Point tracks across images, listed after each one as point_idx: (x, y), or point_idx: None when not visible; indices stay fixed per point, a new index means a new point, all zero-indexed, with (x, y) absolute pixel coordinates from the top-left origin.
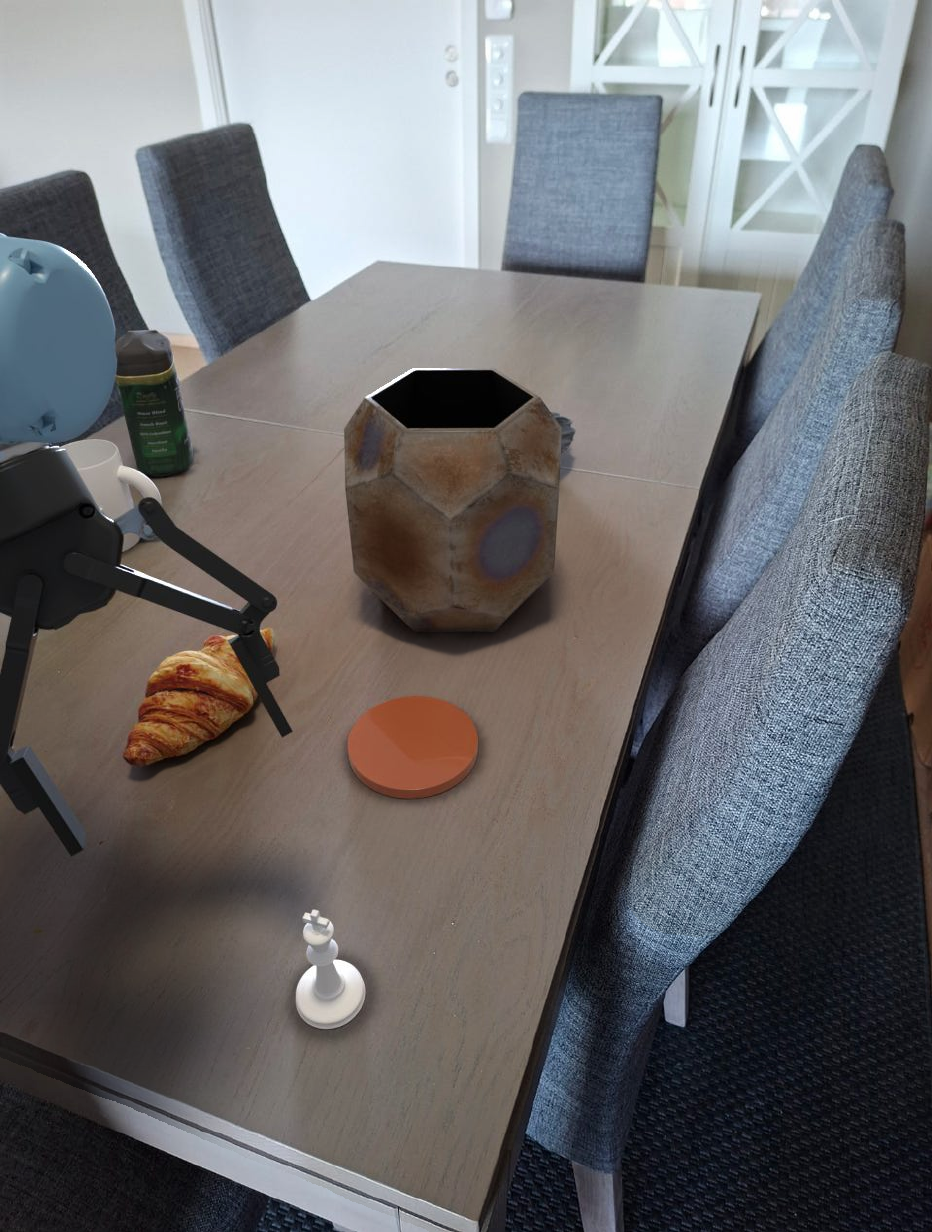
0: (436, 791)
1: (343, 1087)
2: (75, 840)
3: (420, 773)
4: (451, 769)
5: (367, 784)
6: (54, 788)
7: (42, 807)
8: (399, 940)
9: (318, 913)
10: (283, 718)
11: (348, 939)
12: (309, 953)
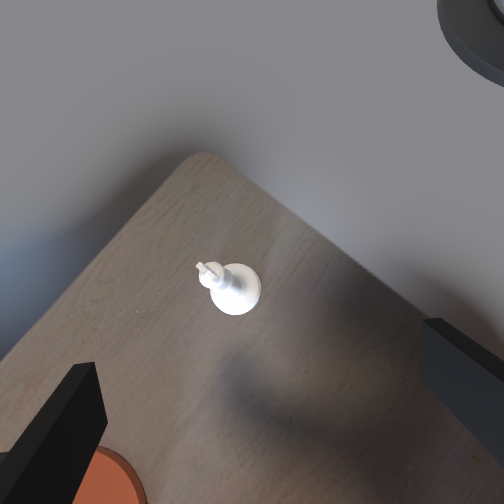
0: None
1: (245, 224)
2: (435, 327)
3: (90, 472)
4: None
5: (141, 490)
6: (483, 428)
7: (501, 363)
8: (176, 313)
9: (200, 268)
10: (65, 379)
11: (210, 329)
12: (229, 279)
